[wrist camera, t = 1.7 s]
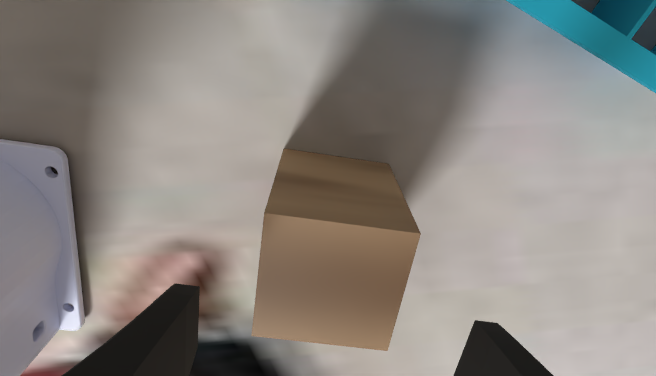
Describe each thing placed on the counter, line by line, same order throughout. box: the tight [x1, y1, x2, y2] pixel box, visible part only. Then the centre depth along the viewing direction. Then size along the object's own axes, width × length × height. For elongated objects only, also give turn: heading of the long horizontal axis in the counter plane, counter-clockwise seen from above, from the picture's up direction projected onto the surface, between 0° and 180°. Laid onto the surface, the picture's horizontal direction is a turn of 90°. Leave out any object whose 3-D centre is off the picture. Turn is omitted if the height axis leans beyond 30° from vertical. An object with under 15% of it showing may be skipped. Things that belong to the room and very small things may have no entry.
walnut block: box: [252, 149, 421, 351], centre depth 15 cm, size 4×4×6 cm
